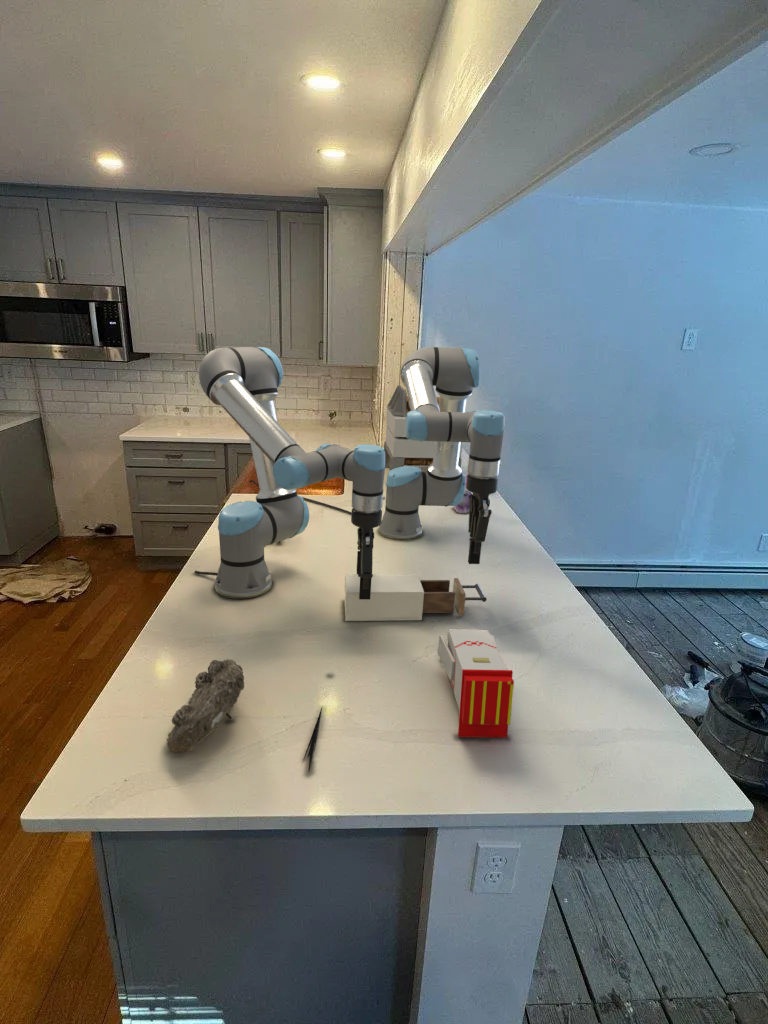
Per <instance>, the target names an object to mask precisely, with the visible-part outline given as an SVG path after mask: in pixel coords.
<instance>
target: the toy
mask: <svg viewBox="0 0 768 1024" xmlns="http://www.w3.org/2000/svg"><path fill="white" fill-rule="evenodd" d="M446 640H447V643H446V641H445V639H444V636H443V635H442V634H439V637H438V646H437V656H438V657H439V659H440V661H441V663H442V666H443V668H444V670H445V672H446V674H447V677H448V679H449V681H450V684H451V687H452V690H453V693H454V697H455V701H456V705H457V708H458V711H459V714H458V715H459V716H458V730H457V731H458V732H457V737H458V738H508V731H509V726H510V725H511V717H512V707H513V697H514V696H513V695H514V684H515V680H514V679H513V673H514V671H513V670H512V669H508V667H507V665H506V662H505V661H504V659H503V658H502V655H501V653H500V651H499V649H498V647H497V643H496V639H495V637H494V635H493V634H491V632H490V631H489V629H467V628H466V629H465V628H463V629H461V628H460V629H459V628H448V630H447V639H446Z"/></svg>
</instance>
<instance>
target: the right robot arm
mask: <svg viewBox="0 0 768 1024" xmlns="http://www.w3.org/2000/svg"><path fill="white" fill-rule="evenodd" d="M479 358H480V357H479V354H478V353H477V351H476V350H475V349H473V348H465V347H445V346H424V347H421V348H418V349H416V350H415V351H413V352H411V353H410V354H408V356H406V358H405V359H404V361H403V362H402V365H401V367H400V381H401V383H402V385H403V386H404V387H405V390H406V393H407V396H408V399H409V404H410V409H411V411H409V412H408V413H407V416H406V427H405V429H406V437H407V438H408V439H409V440H414V441H420V442H423V441H435V446H434V456H433V463H432V464H430V465H428V466H427V471H422V469H421V468H420V466H407V465H404V467H398V468H395V469H392V470H391V471H390V470H388V473H387V475H386V482H385V487H386V488H385V489H386V490H385V504H384V505H385V507H384V508H385V509H384V513H383V514H382V522H381V524H380V525H379V526H378V533H379V534H380V535H381V536H382V537H385V538H387V539H389V540H395V541H410V540H415V539H418V538H420V537H421V536H422V535H423V525H422V524H421V518H420V515H419V507H420V506H427V507H428V506H429V507H454V506H456V505H458V504H459V503H460V502H461V500H462V498H463V495H464V491H465V482H466V480H465V477H466V475H465V474H464V473H463V471H462V467H461V468H460V467H459V466H458V461H459V453H460V446H461V442H463V443H470V444H469V454H468V462H467V474H468V473H469V475H468V476H467V484H466V488H467V490H468V491H470V492H471V493H472V495H469V513H468V529H467V531H468V533H469V546H468V554H467V555H468V556H467V563H468V565H480V562H481V554H482V543H485V542H486V537H487V533H488V528H489V522H490V518H491V515H492V513H493V512H492V509H489V507H490V506H491V499H490V495H493V494H495V493H496V492H497V491H498V483H499V477H498V476H499V473H500V467H501V466H502V465H503V463H502V461H501V457H502V449H503V441H504V433H505V429H506V426H505V422H506V421H505V419H506V417H505V415H504V413H502V412H500V411H496V410H489V409H488V410H487V409H483V410H481V409H480V410H476V409H474V410H469V411H466V406H467V399H468V398H469V397H470V396H472V394H473V389H475V388H478V387H479V385H480V381H481V364H480V359H479ZM434 387H435V388H434ZM436 393H437V395H438V397H440V399H439V406H438V402H437V399H436V397H437V395H436ZM248 482H249V483H253V484H254V485H256V486H258V487H259V484H258V482H257V481H255V480H254V479H250V480H249V481H248ZM301 497H302V498H303V499H304V501H307V502H311V503H315V504H318V505H322V506H324V507H328V508H332V509H334V510H338V511H340V512H342V513H346V514H348V515H351V513H352V511H349V510H347V509H343V508H341V507H338V506H334V505H331V504H328V503H325V502H321V501H317V500H314V499H311V498H307V497H305V496H301Z"/></svg>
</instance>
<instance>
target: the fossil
mask: <svg viewBox="0 0 768 1024" xmlns="http://www.w3.org/2000/svg"><path fill="white" fill-rule="evenodd" d="M243 670H244V669H243V667H242V665H240V664H237V662H236V661H235V660H234V659H232V658H231V659H227V658H226V659H224V660H223V661H222V660H217V659H212V660H211V661H210V663H209V665H208V666H207V671H201V672H199V673H198V674H197V675H196V676H195V680H194V684H195V685H194V687H195V689H194V690H193V693H192V694H191V697H190V698H189V700H188V704H184V705H182V706H181V707H180V709H177V710H176V711H175V713H174V715H173V716H172V718H171V723H172V724H173V727H172V730H171V731H170V732H168V734H167V738H166V741H167V742H166V745H167V749H168V750H169V751H173V752H174V753H176V754H178V753H182V752H188V751H189V752H192V751H193V750H195V748H196V747H197V746H199V744H200V743H201V742H203V741H204V740H205V739H206V738H207V737H208V736H209V735H210V734H211V733H212V732H214V730H215V729H217V727H218V726H219V724H220V722H221V721H222V720H223V719H224V718H225V716H226V717H227V719H229V720H233V717H232V715H230V714H229V710H230V709H231V708H234V706H235V704H236V703H237V702H238V699H239V697H240V695H241V693H242V691H243V690H245V689H244V688H245V675H244V671H243Z"/></svg>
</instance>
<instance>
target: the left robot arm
mask: <svg viewBox="0 0 768 1024" xmlns="http://www.w3.org/2000/svg"><path fill="white" fill-rule="evenodd" d="M282 379H284V368H283V365H282V363H281V360H280V358H279V356H277V354H276V353H275V352H273V351H272V349H270V348H267V347H264V346H255V345H252V346H238V347H217V348H215V349H212V350H210V351H209V352H208V353H207V354H206V355H204V356H203V359H202V360H201V362H200V364H199V368H198V380H199V383H200V387H201V389H202V391H203V392H204V394H205V395H206V397H207V398H208V399H209V400H210V401H211V402H212V404H214V405H216V406H221V407H222V409H223V410H224V411H225V412H226V413H227V415H229V416H230V417H231V419H232V420H233V421H234V422H235V423H236V424H237V425H238V426H239V428H241V430H242V431H243V432H244V433H245V434H246V435H247V436H248V438H249V439H248V440H249V443H250V449H251V453H252V459H253V463H254V468H255V473H256V478H257V483H258V484H259V486H258V488H259V490H258V493H257V494H256V495H255V501H254V500H244V501H235V502H233V503H231V504H228V505H226V506H225V507H223V508H222V509H221V511H220V512H219V513H218V522H217V523H218V524H217V530H218V537H219V554H220V564H219V567H218V571H217V572H214V571H213V572H212V571H201V570H200V571H199V570H194V574H197V575H201V576H203V575H204V576H206V575H207V576H216V578H215V581H214V582H215V583H214V585H215V586H214V587H215V591H216V593H217V594H219V596H222V597H224V598H228V599H235V600H244V599H245V600H246V599H252V598H256V597H259V596H262V595H264V594H266V593H267V592H269V591H270V589H271V588H272V586H273V582H272V581H273V579H272V573H270V570H269V568H268V565H267V563H266V560H265V547H268V546H270V545H273V544H276V543H278V542H279V541H281V542H282V541H285V540H288V539H293V538H295V537H296V536H298V535H300V534H302V533H303V532H305V530H306V528H307V527H308V524H309V522H310V510H309V509H310V508H309V506H308V503H307V502H306V501H305V500H304V499H303V498H302V497H303V496H301V495H299V494H298V493H297V490H298V489H303V488H305V487H307V486H311V485H314V484H318V483H322V482H326V481H327V482H328V481H330V480H334V479H342V480H346V481H348V482H352V490H351V512H352V513H351V514H350V516H351V517H350V522H351V524H352V525H353V526H354V527H357V532H356V533H357V542H356V544H357V553H356V554H357V555H356V574H358V577H360V590H359V599H370V595H371V578H372V576H373V574H374V573H373V554H374V553H373V551H374V539H375V532H374V528H379V526H380V524H381V522H382V519H383V509H382V508H383V501H386V495H384V483H385V472H386V467H387V466H386V464H385V451H384V447H381V446H379V445H377V444H369V443H368V444H365V443H363V444H358V445H356V446H355V447H354V449H352V448H348V447H344V446H341V445H339V444H336V443H333V444H332V443H323V444H321V445H320V446H319V447H317V449H316V450H314V451H309V452H307V451H305V450H304V449H303V448H302V447H301V446H300V444H298V443H297V442H296V441H295V439H294V438H293V437H292V436H291V435H290V434H289V433H288V432H287V430H285V428H284V427H283V426H281V424H280V423H279V421H278V416H277V411H276V405H275V404H276V403H275V400H276V398H277V397H278V395H279V390H278V388H279V387H280V386H281V384H282V383H283V380H282Z"/></svg>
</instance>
